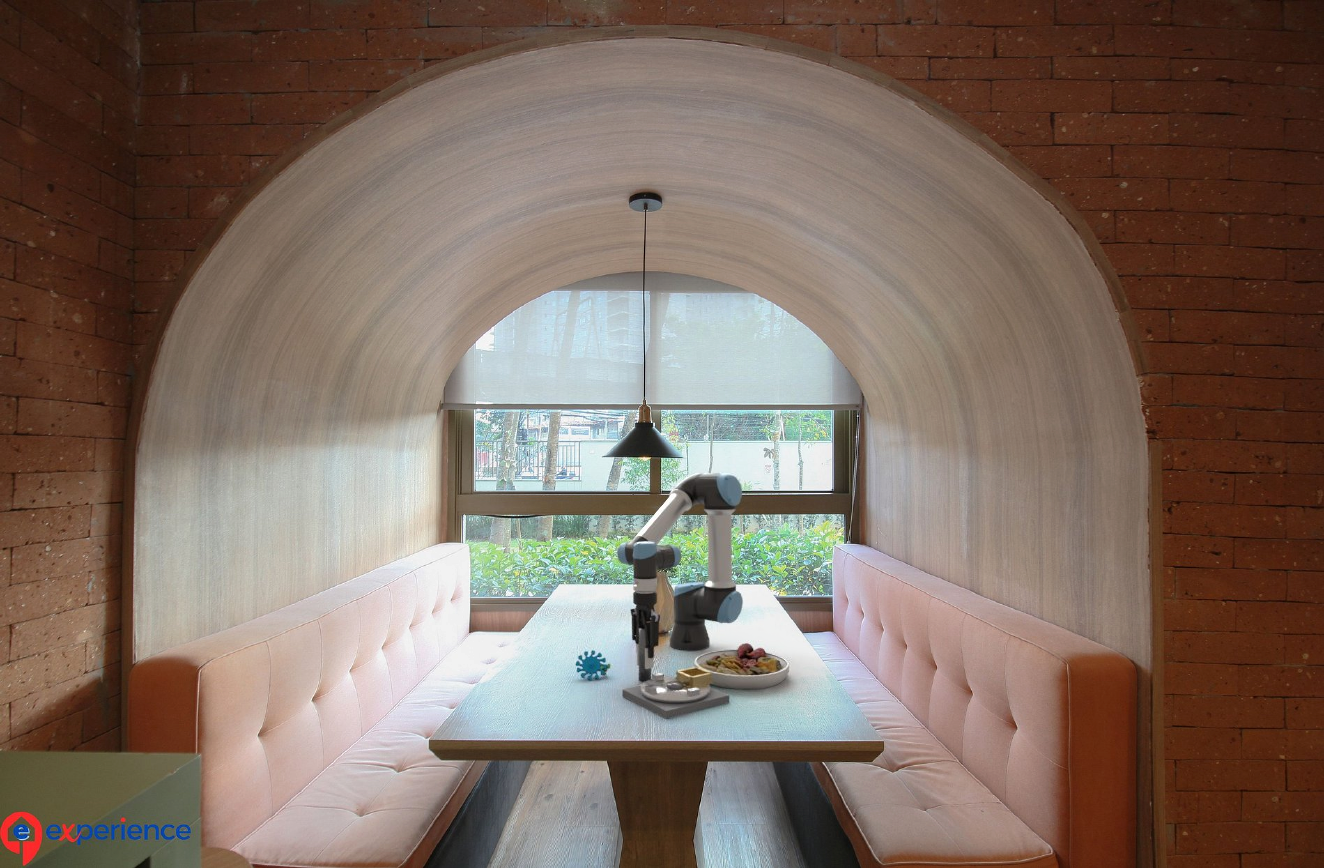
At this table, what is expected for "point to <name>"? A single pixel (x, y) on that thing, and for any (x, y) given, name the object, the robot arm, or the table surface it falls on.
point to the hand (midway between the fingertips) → (645, 666)
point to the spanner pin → (643, 657)
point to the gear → (592, 665)
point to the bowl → (744, 667)
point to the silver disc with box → (678, 686)
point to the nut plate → (675, 708)
